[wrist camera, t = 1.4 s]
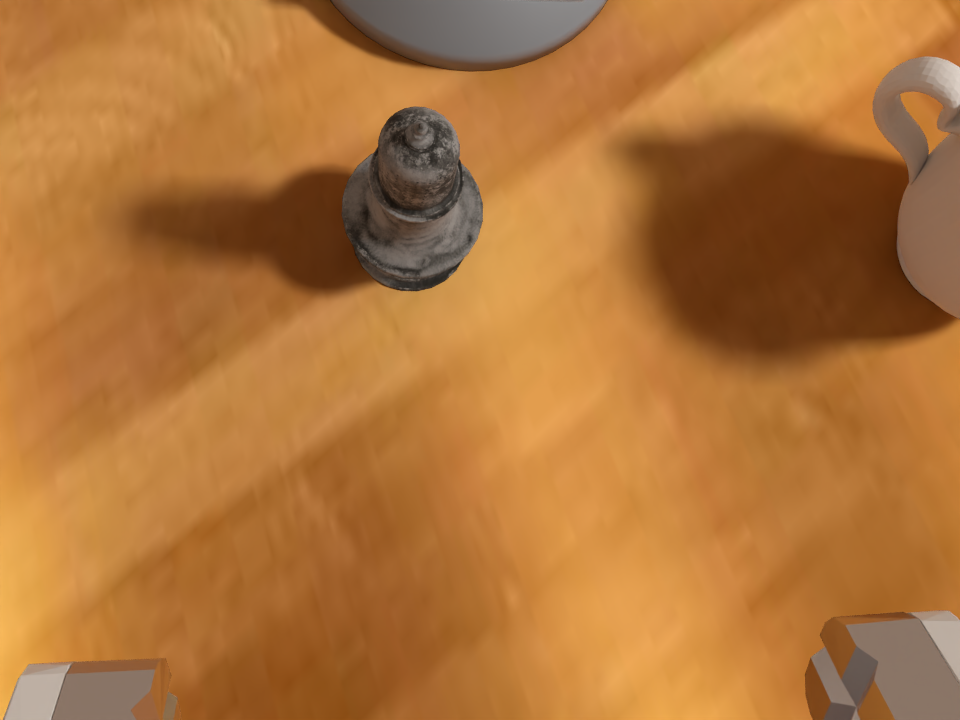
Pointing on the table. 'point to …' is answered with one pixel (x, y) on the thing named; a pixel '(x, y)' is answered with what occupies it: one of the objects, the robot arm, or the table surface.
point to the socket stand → (471, 29)
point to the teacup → (927, 178)
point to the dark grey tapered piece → (413, 203)
